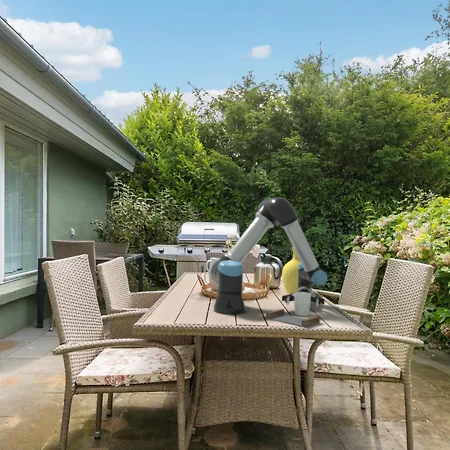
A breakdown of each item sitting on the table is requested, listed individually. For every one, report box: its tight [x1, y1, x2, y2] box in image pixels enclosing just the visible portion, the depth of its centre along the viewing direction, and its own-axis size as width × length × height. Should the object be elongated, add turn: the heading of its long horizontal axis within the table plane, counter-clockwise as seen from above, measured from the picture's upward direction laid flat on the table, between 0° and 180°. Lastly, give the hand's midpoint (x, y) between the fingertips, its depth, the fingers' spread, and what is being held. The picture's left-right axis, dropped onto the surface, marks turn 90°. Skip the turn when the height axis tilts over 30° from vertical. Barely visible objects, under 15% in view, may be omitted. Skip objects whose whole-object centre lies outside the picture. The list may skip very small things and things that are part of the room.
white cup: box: [293, 292, 312, 317], centre depth 192 cm, size 8×8×10 cm
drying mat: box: [265, 313, 321, 328], centre depth 179 cm, size 20×12×1 cm, turn 47°
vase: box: [281, 246, 301, 295], centre depth 254 cm, size 16×16×28 cm
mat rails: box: [265, 308, 321, 327], centre depth 179 cm, size 20×12×2 cm, turn 47°
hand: (302, 302), depth 189 cm, fingers open, 13 cm apart
